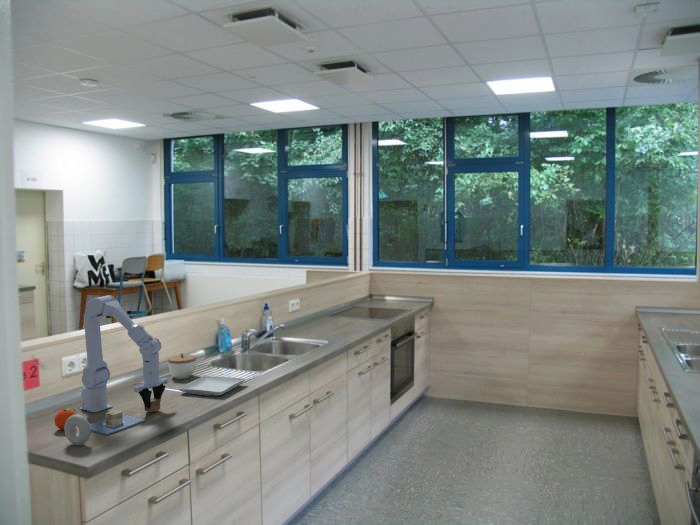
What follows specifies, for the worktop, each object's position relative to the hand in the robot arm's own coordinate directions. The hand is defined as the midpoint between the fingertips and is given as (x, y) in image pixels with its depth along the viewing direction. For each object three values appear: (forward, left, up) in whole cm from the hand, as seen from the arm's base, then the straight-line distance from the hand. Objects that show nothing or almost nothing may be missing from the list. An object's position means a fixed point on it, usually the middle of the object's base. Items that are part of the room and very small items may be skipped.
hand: (152, 406), depth 219 cm
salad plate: (-1, +33, -3) cm, 33 cm away
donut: (+6, -35, -2) cm, 36 cm away
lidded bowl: (-29, +42, -2) cm, 51 cm away
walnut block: (0, 0, -1) cm, 1 cm away
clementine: (-12, -27, -2) cm, 30 cm away
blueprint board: (0, -17, -2) cm, 17 cm away
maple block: (0, -17, -2) cm, 17 cm away
